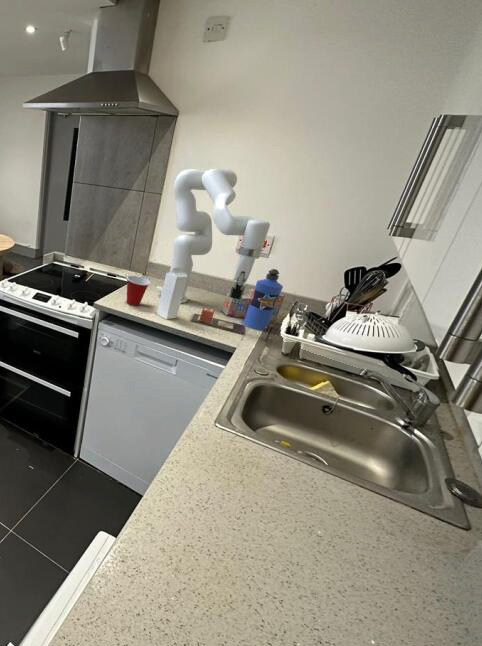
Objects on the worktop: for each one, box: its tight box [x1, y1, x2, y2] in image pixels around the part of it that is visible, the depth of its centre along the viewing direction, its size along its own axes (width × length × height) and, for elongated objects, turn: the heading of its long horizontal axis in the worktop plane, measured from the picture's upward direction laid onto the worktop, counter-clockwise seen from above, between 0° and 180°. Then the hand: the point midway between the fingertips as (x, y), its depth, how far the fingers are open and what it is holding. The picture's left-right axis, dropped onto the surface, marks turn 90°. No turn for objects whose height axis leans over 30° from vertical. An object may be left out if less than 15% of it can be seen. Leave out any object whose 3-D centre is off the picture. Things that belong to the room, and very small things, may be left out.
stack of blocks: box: [221, 288, 285, 322], centre depth 176 cm, size 21×6×12 cm, turn 84°
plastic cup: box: [126, 275, 152, 307], centre depth 179 cm, size 11×11×12 cm
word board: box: [190, 313, 245, 335], centre depth 167 cm, size 20×10×1 cm, turn 59°
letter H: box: [200, 307, 215, 323], centre depth 168 cm, size 4×4×5 cm
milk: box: [156, 267, 187, 320], centre depth 166 cm, size 6×6×22 cm
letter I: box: [229, 283, 246, 300], centre depth 158 cm, size 4×4×5 cm
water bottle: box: [242, 268, 284, 331], centre depth 163 cm, size 9×9×25 cm
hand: (235, 296), depth 159 cm, fingers closed on letter I, 4 cm apart
